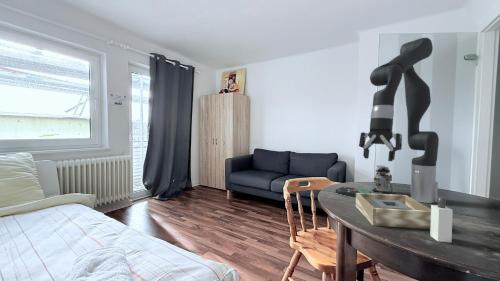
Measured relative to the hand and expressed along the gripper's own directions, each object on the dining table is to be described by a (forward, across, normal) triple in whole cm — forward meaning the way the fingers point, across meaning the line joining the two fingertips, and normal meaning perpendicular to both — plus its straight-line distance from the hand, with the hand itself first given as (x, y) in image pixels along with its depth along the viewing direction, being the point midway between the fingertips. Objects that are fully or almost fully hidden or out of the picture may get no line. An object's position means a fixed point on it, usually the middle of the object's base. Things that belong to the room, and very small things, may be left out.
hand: (377, 159), depth 84 cm
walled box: (+22, -4, -7) cm, 23 cm away
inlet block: (+21, -4, -7) cm, 22 cm away
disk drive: (+21, +20, -25) cm, 38 cm away
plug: (+22, -20, +1) cm, 30 cm away
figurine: (+19, +11, -39) cm, 45 cm away
